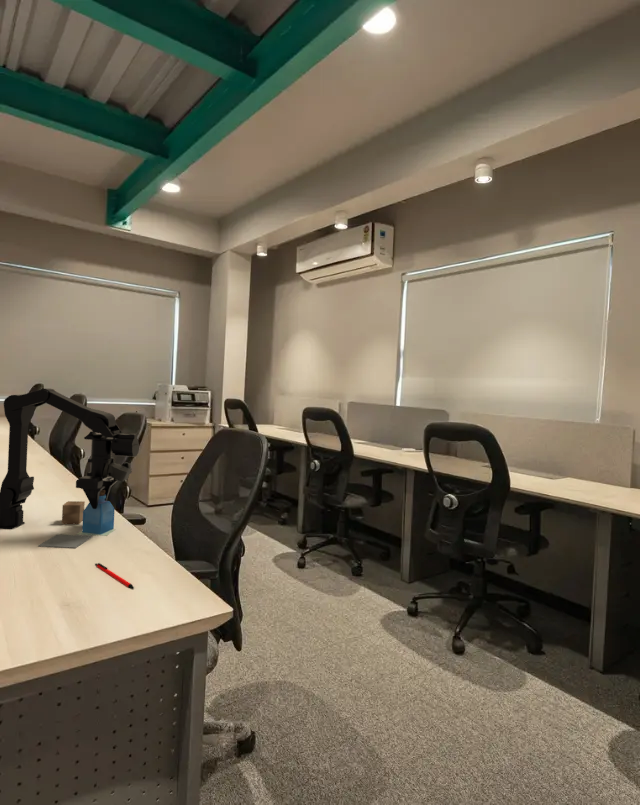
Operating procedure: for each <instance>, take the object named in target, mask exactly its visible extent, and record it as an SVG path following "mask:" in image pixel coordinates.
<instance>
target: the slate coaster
mask: <svg viewBox="0 0 640 805" xmlns="http://www.w3.org/2000/svg"><path fill="white" fill-rule="evenodd" d="M91 538H93V535H78V534H62V533H60V534H59V533H57V534H55V535H54V536H52V537H49V538H48V539H47V540H45V541H43V542H42V543H39V544H38V545H37V547H38V548H39V547H40V548H56V549H57V548H58V549H77V548H79V547H80V546H81V545H83V544H84V543H86V542H87V541H89V540H91Z"/></svg>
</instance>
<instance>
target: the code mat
mask: <svg viewBox="0 0 640 805" xmlns="http://www.w3.org/2000/svg"><path fill="white" fill-rule="evenodd" d="M114 531H115V529H112V530H110V531H108V532H105V533H103V534H101V535H100V534H93V533H85V532H82V530H80V531H79V532H77V533H76V535H84V536H97V537H98V536H100V537H101V536H102V537H108V536H109V535H110V534H112V533H113V532H114Z"/></svg>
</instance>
